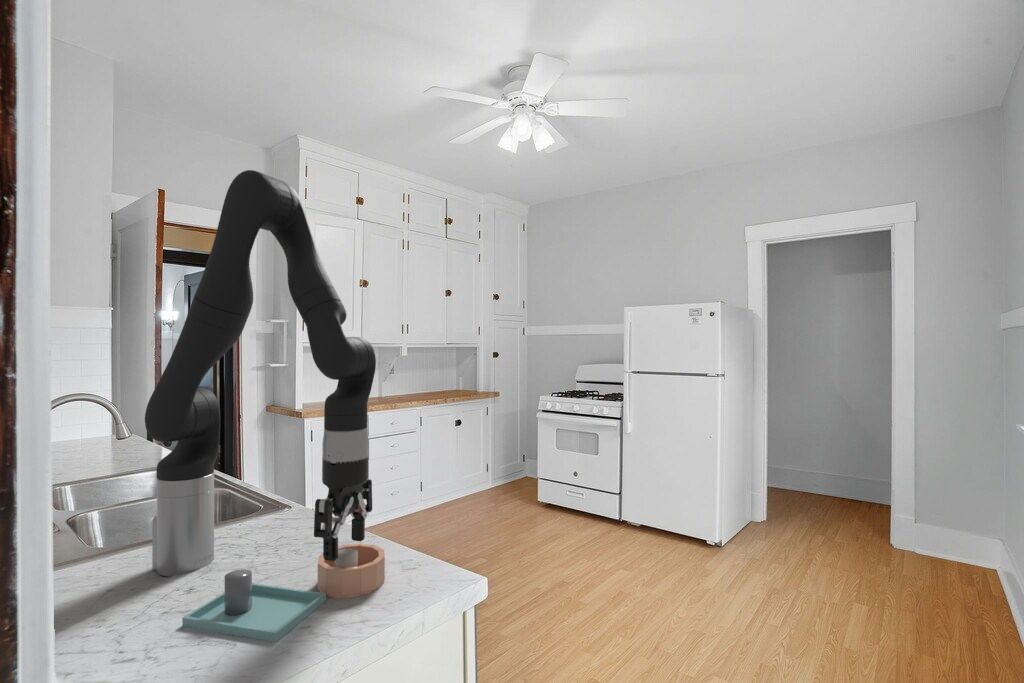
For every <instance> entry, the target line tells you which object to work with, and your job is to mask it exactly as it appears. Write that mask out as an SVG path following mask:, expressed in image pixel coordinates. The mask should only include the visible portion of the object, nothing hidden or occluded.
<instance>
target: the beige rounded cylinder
mask: <svg viewBox="0 0 1024 683" xmlns="http://www.w3.org/2000/svg"><path fill="white" fill-rule="evenodd" d="M356 566H358V551H357V550H356V549H351V548H347V549H341V550H339V551H338V558H337V559H336V560H335V561H334V567H341V568H347V567H356Z"/></svg>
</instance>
